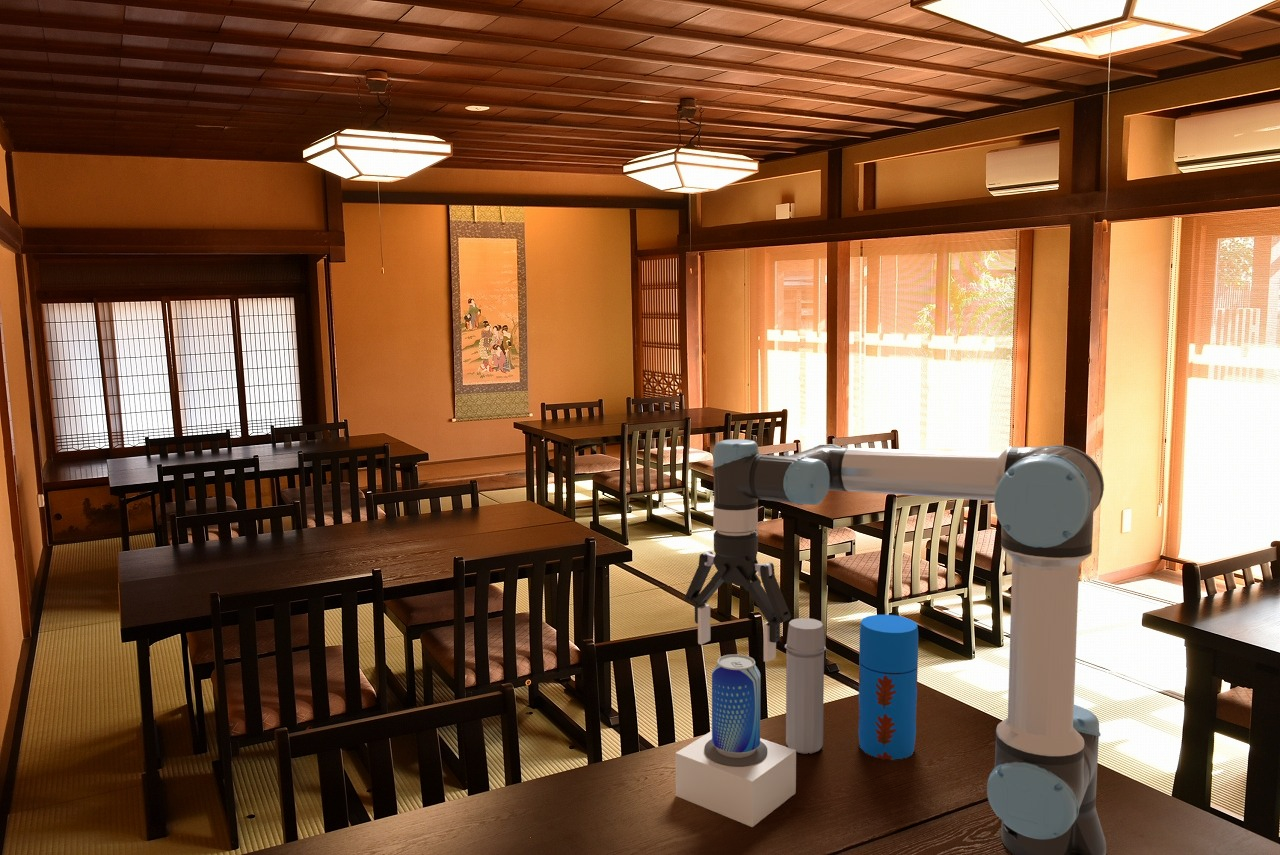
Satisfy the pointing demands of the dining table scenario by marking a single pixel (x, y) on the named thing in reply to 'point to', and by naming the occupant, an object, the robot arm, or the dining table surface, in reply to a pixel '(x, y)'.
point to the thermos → (888, 686)
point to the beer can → (736, 706)
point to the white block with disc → (736, 779)
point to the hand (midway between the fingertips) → (736, 650)
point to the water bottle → (805, 685)
